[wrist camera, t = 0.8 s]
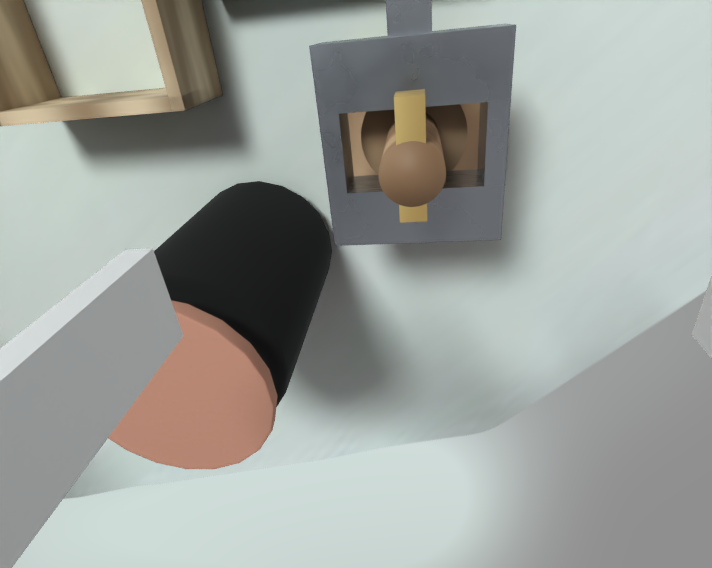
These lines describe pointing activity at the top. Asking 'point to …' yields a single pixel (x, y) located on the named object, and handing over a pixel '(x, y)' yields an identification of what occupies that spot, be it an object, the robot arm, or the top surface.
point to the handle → (414, 148)
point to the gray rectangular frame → (442, 87)
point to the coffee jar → (230, 326)
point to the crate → (44, 104)
